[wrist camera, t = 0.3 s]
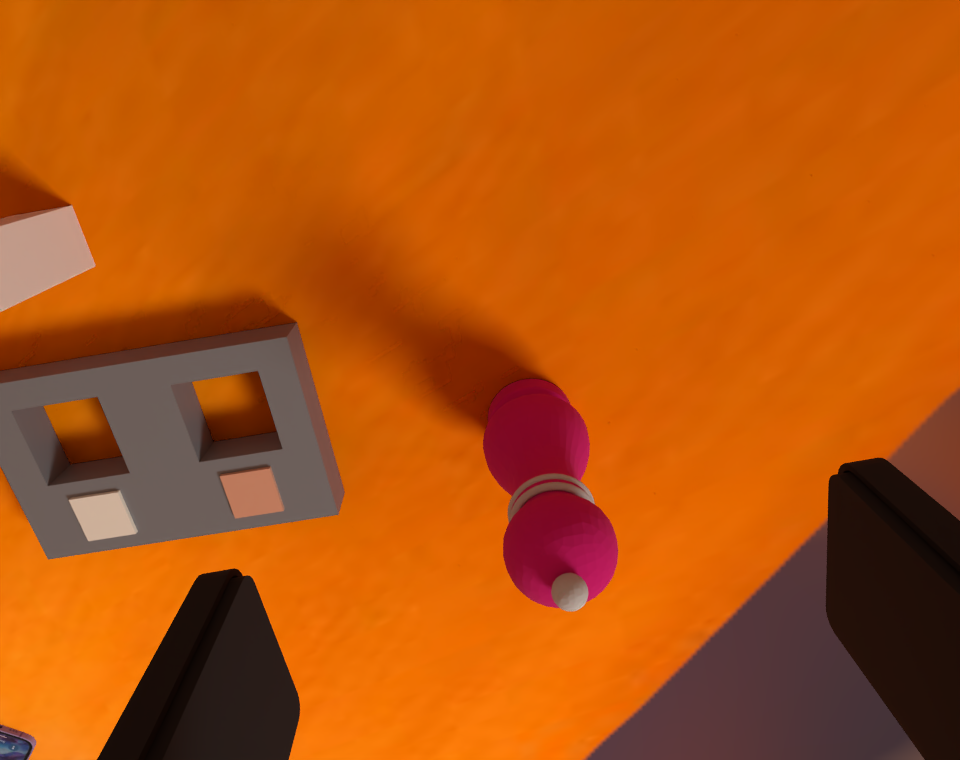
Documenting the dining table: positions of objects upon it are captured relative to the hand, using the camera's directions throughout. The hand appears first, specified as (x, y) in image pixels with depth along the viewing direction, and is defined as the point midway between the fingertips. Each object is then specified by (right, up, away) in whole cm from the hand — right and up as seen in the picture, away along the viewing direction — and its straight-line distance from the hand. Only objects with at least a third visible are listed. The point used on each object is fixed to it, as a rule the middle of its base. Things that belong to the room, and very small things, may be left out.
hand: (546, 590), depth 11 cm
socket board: (-24, -1, +39) cm, 45 cm away
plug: (-29, +12, +33) cm, 45 cm away
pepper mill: (+3, +1, +39) cm, 39 cm away
